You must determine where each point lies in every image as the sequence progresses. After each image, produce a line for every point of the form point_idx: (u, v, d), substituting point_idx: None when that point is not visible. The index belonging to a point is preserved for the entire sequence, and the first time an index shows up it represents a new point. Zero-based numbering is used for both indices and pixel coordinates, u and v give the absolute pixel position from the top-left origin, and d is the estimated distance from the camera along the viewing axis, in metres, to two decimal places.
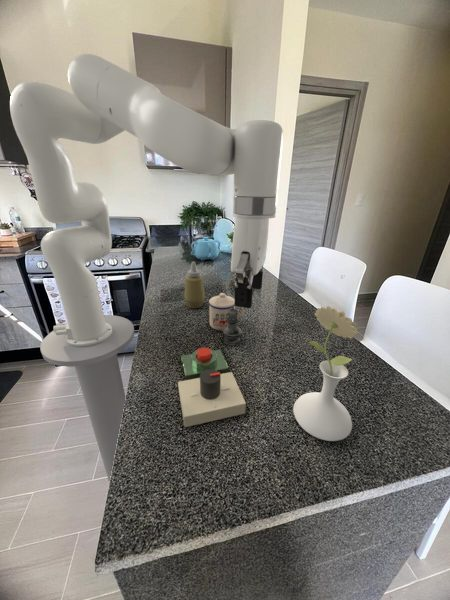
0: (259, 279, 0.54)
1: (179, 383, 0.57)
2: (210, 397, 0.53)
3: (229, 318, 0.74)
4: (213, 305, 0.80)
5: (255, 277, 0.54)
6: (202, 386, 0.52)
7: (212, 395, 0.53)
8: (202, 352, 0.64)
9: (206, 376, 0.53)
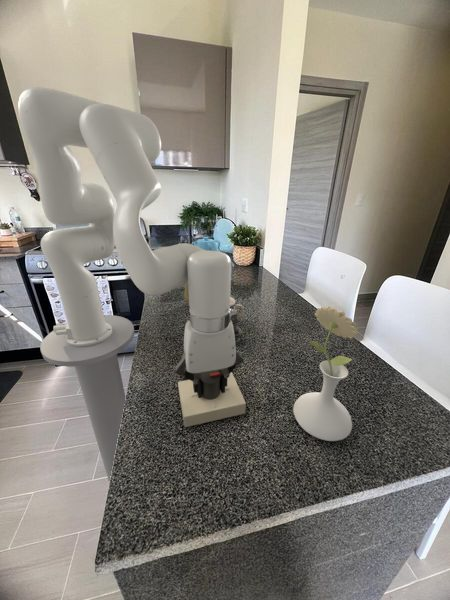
0: (221, 384, 0.53)
1: (179, 383, 0.57)
2: (210, 397, 0.53)
3: None
4: None
5: None
6: (202, 386, 0.52)
7: (212, 395, 0.53)
8: None
9: (206, 376, 0.53)
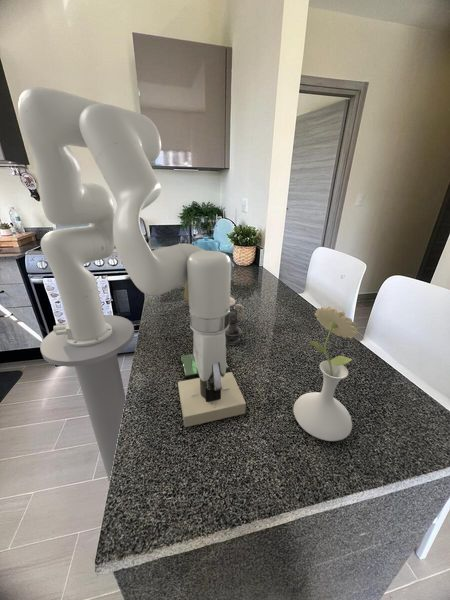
0: None
1: (179, 383, 0.57)
2: None
3: None
4: None
5: None
6: None
7: None
8: None
9: (210, 378, 0.52)
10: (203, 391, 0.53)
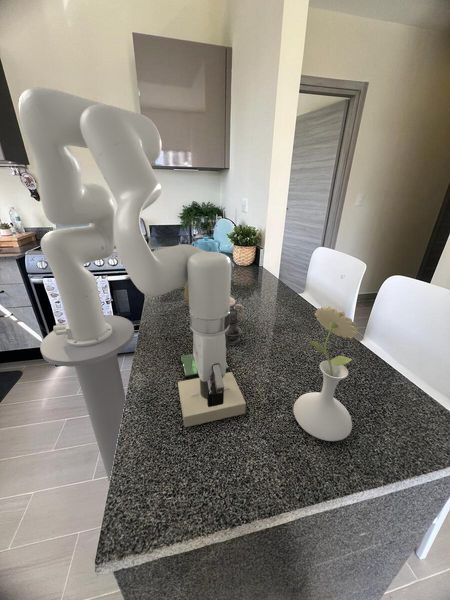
0: None
1: (179, 383, 0.57)
2: None
3: None
4: None
5: None
6: None
7: None
8: None
9: None
10: (203, 391, 0.53)
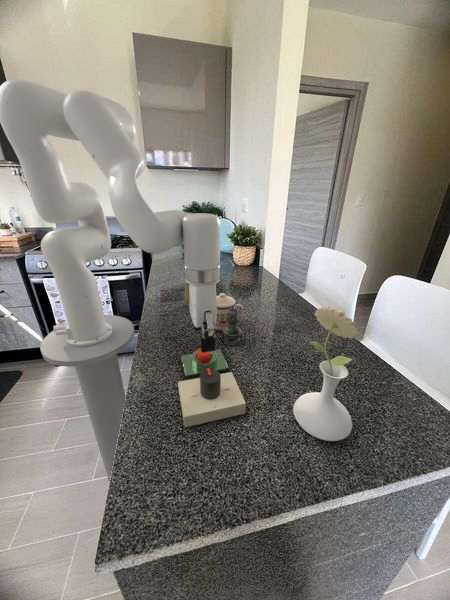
0: (204, 321, 0.65)
1: (179, 383, 0.57)
2: None
3: (229, 318, 0.74)
4: None
5: None
6: (217, 386, 0.52)
7: None
8: (202, 352, 0.64)
9: (210, 378, 0.52)
10: (203, 391, 0.53)
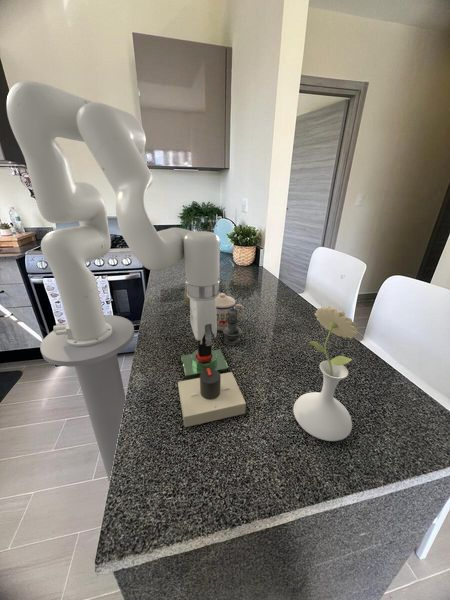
0: (208, 345, 0.64)
1: (179, 383, 0.57)
2: None
3: (229, 318, 0.74)
4: None
5: None
6: (217, 386, 0.52)
7: None
8: None
9: (210, 378, 0.52)
10: (203, 391, 0.53)
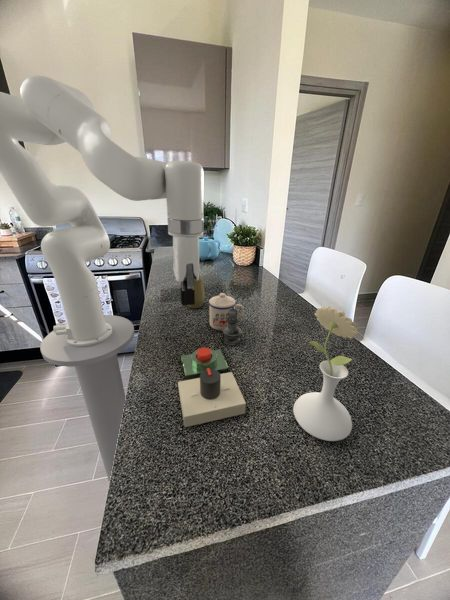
0: None
1: (179, 383, 0.57)
2: None
3: (229, 318, 0.74)
4: (213, 305, 0.80)
5: None
6: (217, 386, 0.52)
7: None
8: (202, 352, 0.64)
9: (210, 378, 0.52)
10: (203, 391, 0.53)
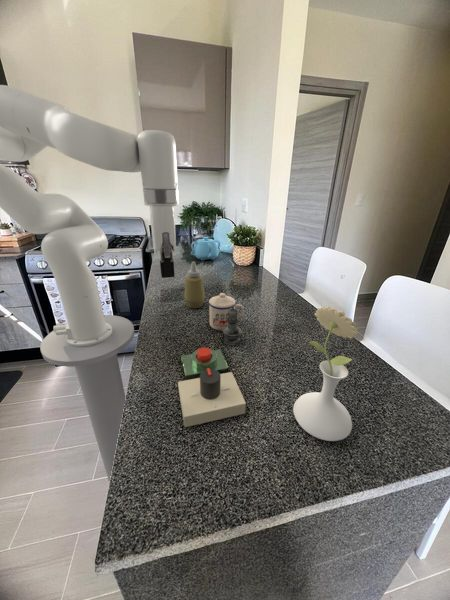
0: None
1: (179, 383, 0.57)
2: None
3: (229, 318, 0.74)
4: (213, 305, 0.80)
5: None
6: (217, 386, 0.52)
7: None
8: (202, 352, 0.64)
9: (210, 378, 0.52)
10: (203, 391, 0.53)
